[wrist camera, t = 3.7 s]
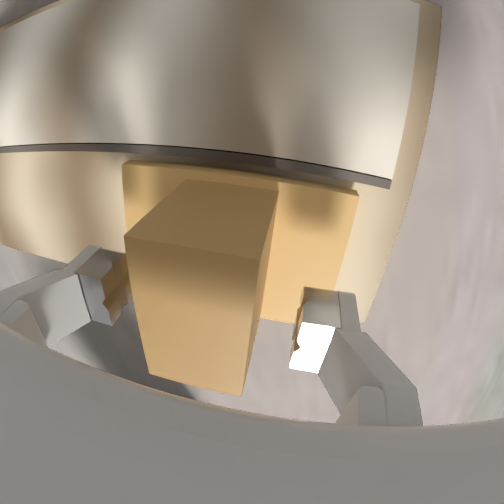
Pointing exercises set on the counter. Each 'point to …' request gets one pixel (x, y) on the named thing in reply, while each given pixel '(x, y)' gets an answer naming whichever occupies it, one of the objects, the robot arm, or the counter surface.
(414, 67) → the board
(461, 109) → the counter surface
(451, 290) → the counter surface
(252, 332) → the stepped wooden block
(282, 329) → the counter surface
